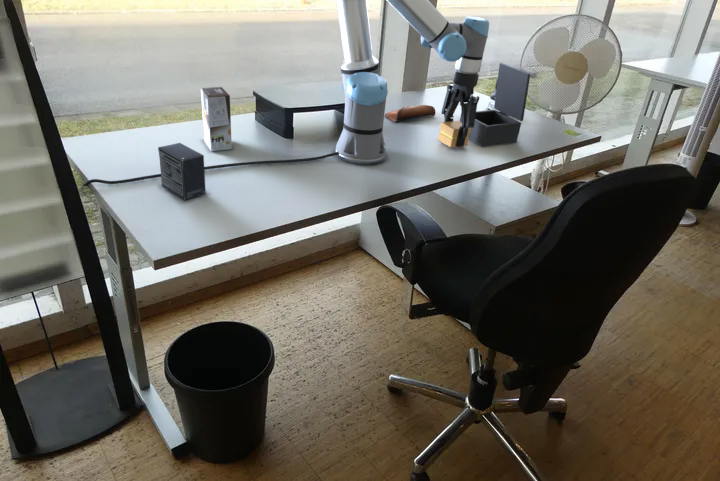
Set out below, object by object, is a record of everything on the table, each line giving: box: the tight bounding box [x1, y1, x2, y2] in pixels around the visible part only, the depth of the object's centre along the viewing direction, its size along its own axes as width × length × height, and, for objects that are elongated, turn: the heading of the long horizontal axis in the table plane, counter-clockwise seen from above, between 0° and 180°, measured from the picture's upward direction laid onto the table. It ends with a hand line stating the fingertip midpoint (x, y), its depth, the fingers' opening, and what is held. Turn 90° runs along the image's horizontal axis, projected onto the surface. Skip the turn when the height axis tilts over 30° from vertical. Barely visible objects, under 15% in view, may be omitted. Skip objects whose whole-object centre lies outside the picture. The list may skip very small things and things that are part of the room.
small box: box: [157, 142, 207, 201], centre depth 134 cm, size 11×6×10 cm, turn 48°
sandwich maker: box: [459, 109, 522, 147], centre depth 189 cm, size 15×14×7 cm
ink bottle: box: [487, 78, 508, 116], centre depth 215 cm, size 10×9×12 cm
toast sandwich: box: [437, 120, 471, 148], centre depth 179 cm, size 7×7×6 cm
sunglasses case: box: [384, 104, 436, 123], centre depth 202 cm, size 18×7×7 cm
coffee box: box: [200, 86, 233, 152], centre depth 160 cm, size 9×6×16 cm
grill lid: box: [494, 62, 537, 122], centre depth 187 cm, size 16×14×8 cm
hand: (452, 141), depth 181 cm, fingers closed on toast sandwich, 7 cm apart
